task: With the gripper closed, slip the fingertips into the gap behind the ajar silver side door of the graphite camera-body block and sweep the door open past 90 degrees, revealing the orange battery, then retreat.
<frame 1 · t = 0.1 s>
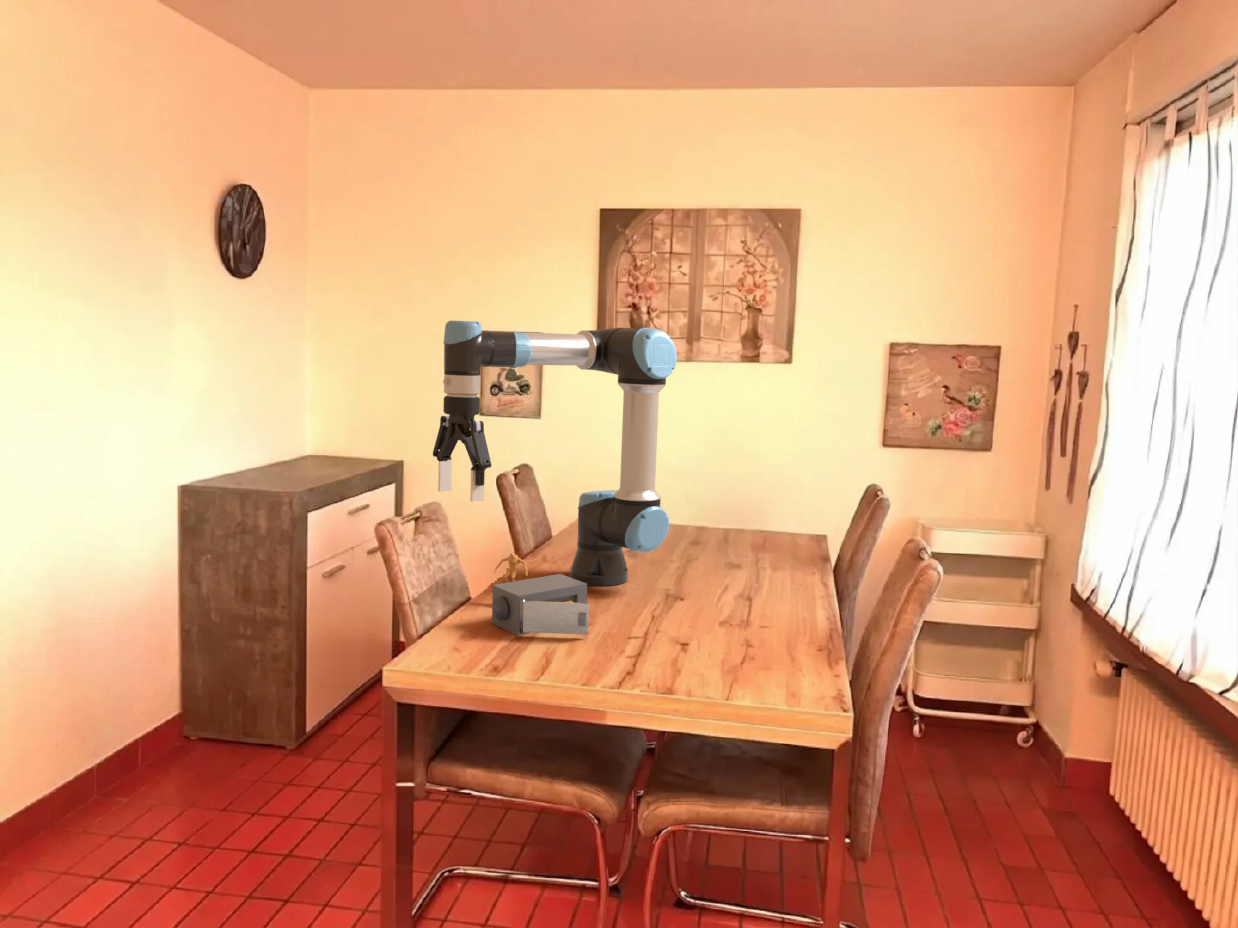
hand: (460, 496, 197), 28 cm above the table, fingers open, 13 cm apart
figurine: (509, 605, 217), on the table
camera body: (539, 622, 204), on the table
door: (553, 618, 193), point 4 cm above the table, hinge at 40.0°
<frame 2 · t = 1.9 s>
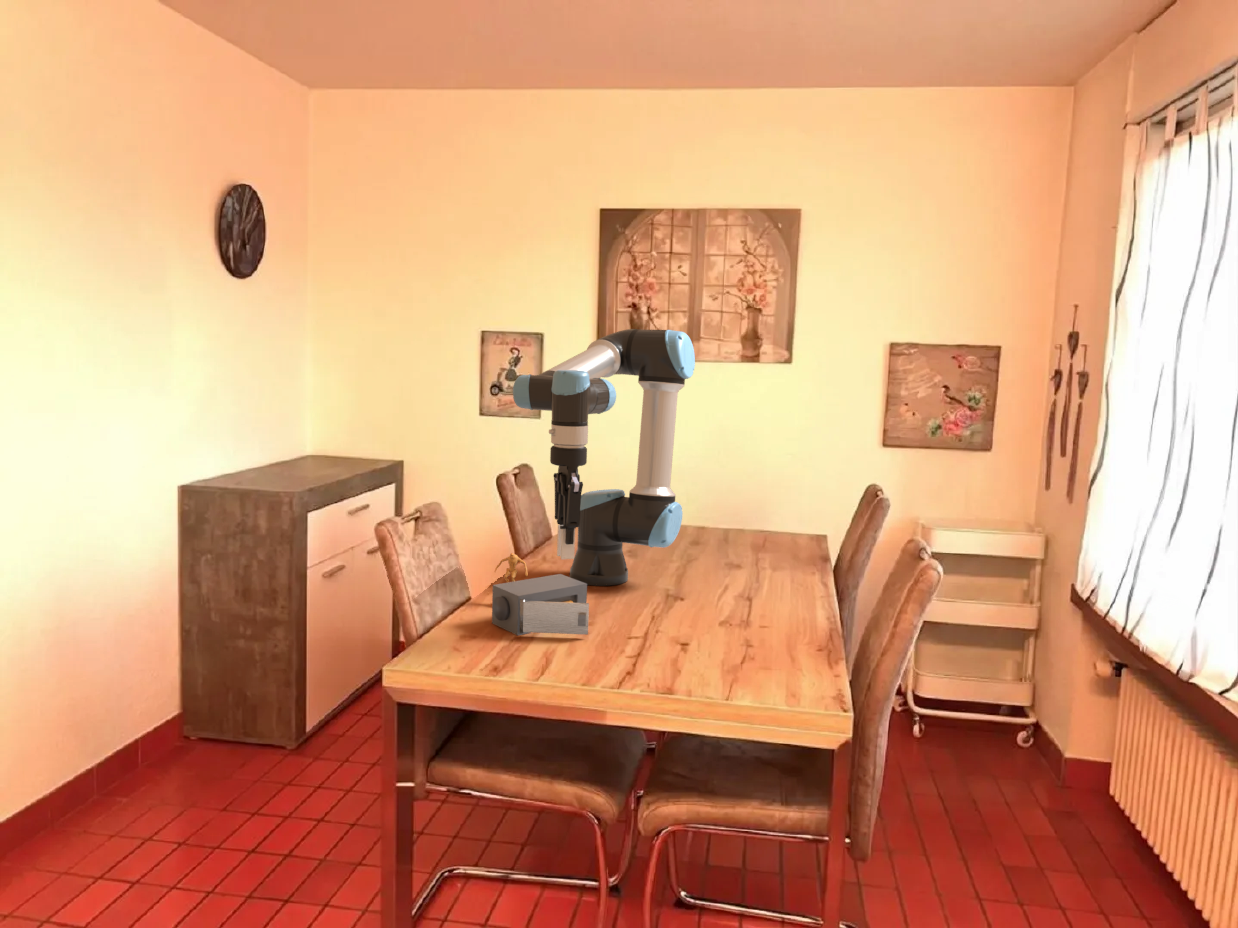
hand: (565, 556, 195), 16 cm above the table, fingers open, 2 cm apart
nothing on the table moved.
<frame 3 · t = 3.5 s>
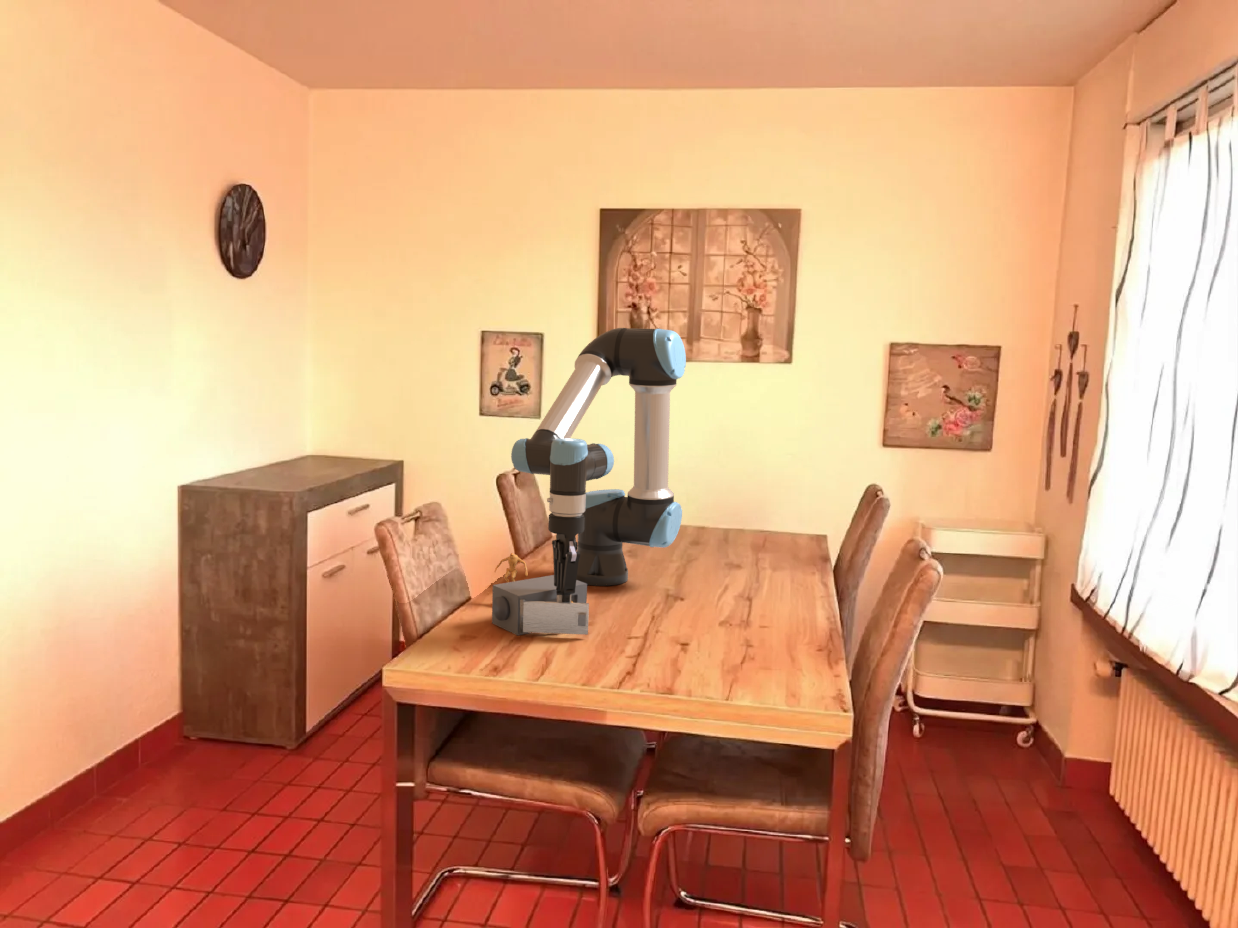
hand: (563, 623, 197), 2 cm above the table, fingers closed
door: (553, 618, 193), point 4 cm above the table, hinge at 40.0°, touching gripper
everything else where it was.
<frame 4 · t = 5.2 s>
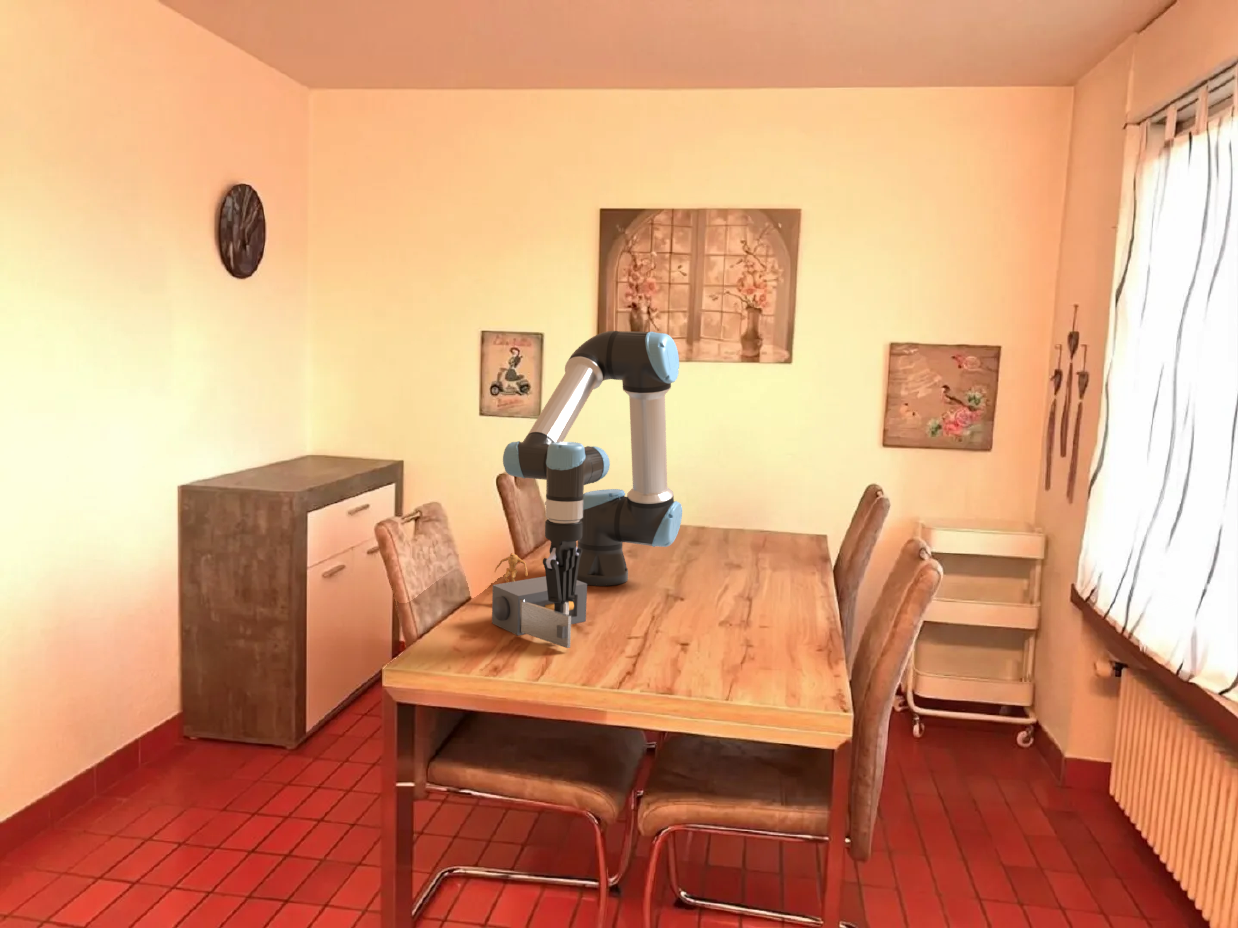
hand: (560, 632, 190), 2 cm above the table, fingers closed
door: (542, 624, 189), point 4 cm above the table, hinge at 81.2°, touching gripper
everything else where it was.
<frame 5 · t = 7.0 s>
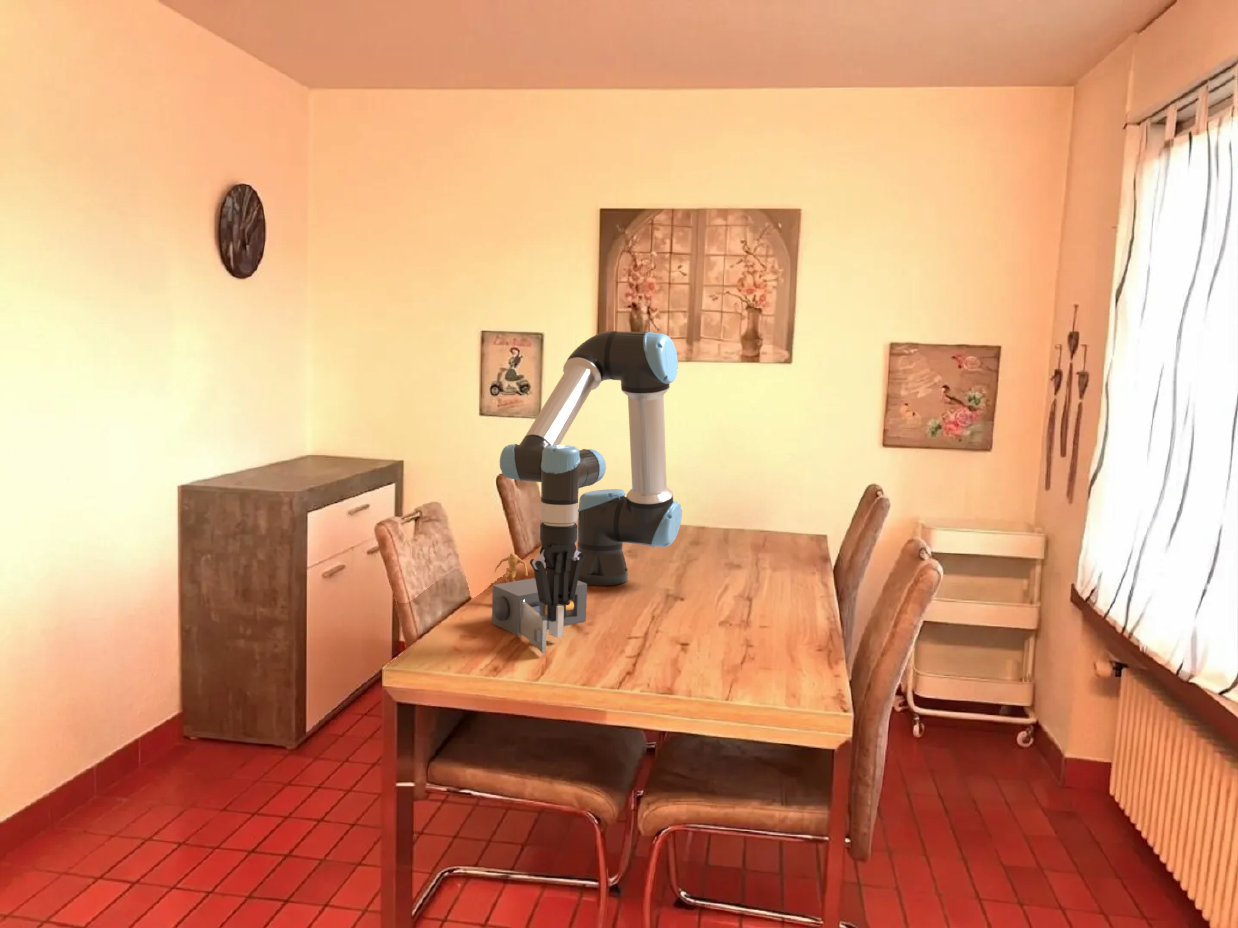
hand: (556, 635, 191), 1 cm above the table, fingers closed
door: (530, 625, 187), point 4 cm above the table, hinge at 105.3°
everything else where it was.
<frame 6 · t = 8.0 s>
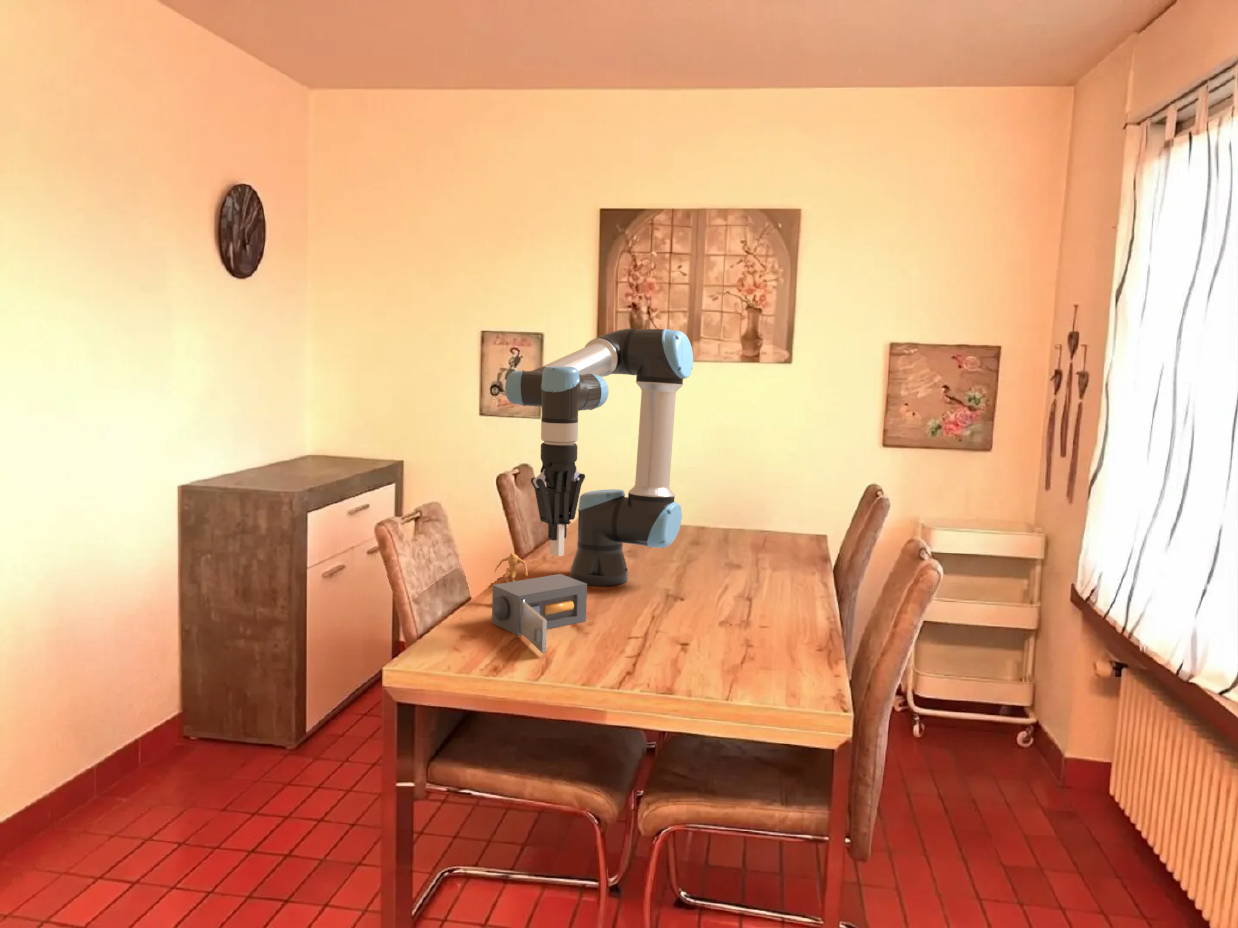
hand: (557, 554, 194), 17 cm above the table, fingers closed
nothing on the table moved.
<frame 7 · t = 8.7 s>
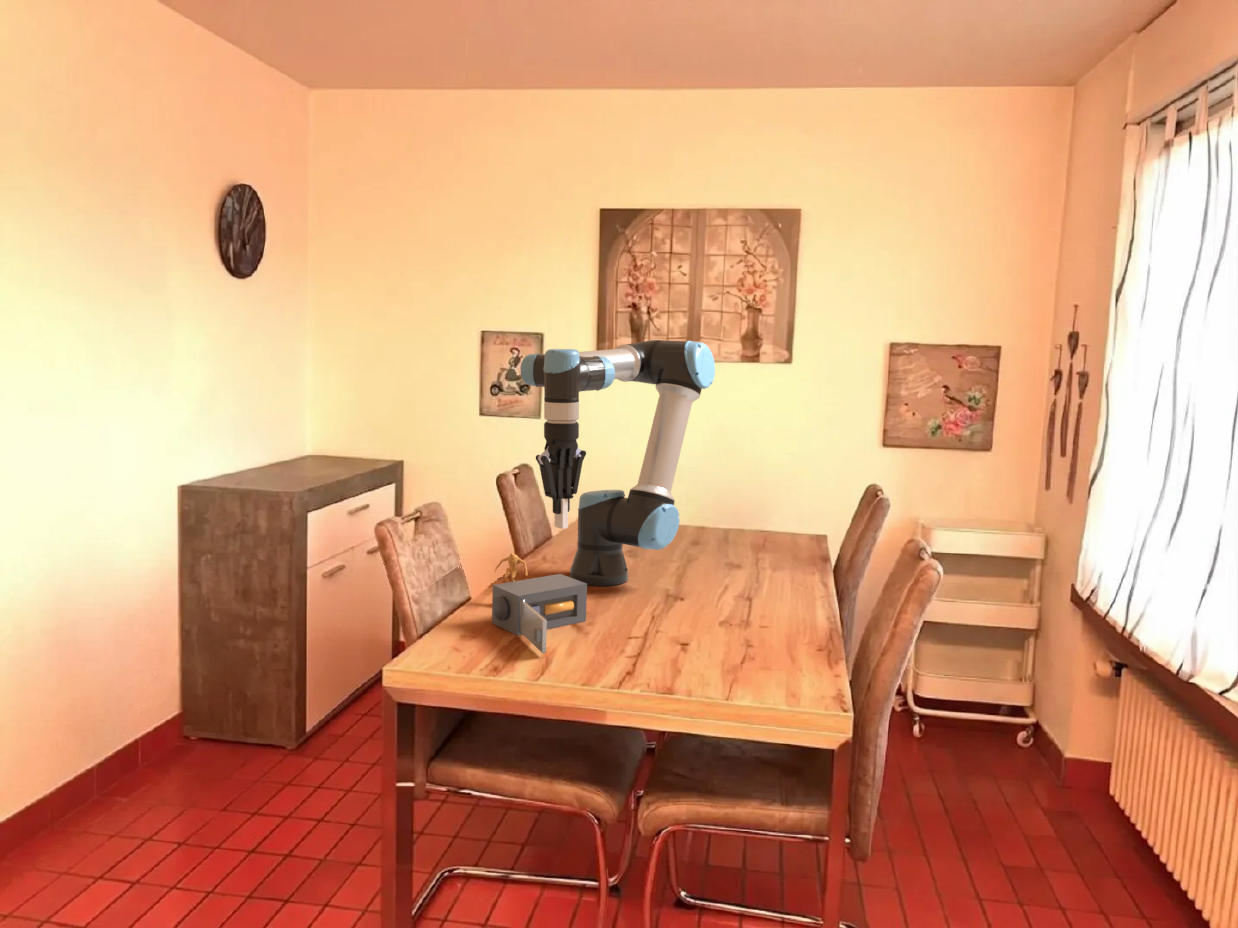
hand: (561, 527, 205), 20 cm above the table, fingers closed
nothing on the table moved.
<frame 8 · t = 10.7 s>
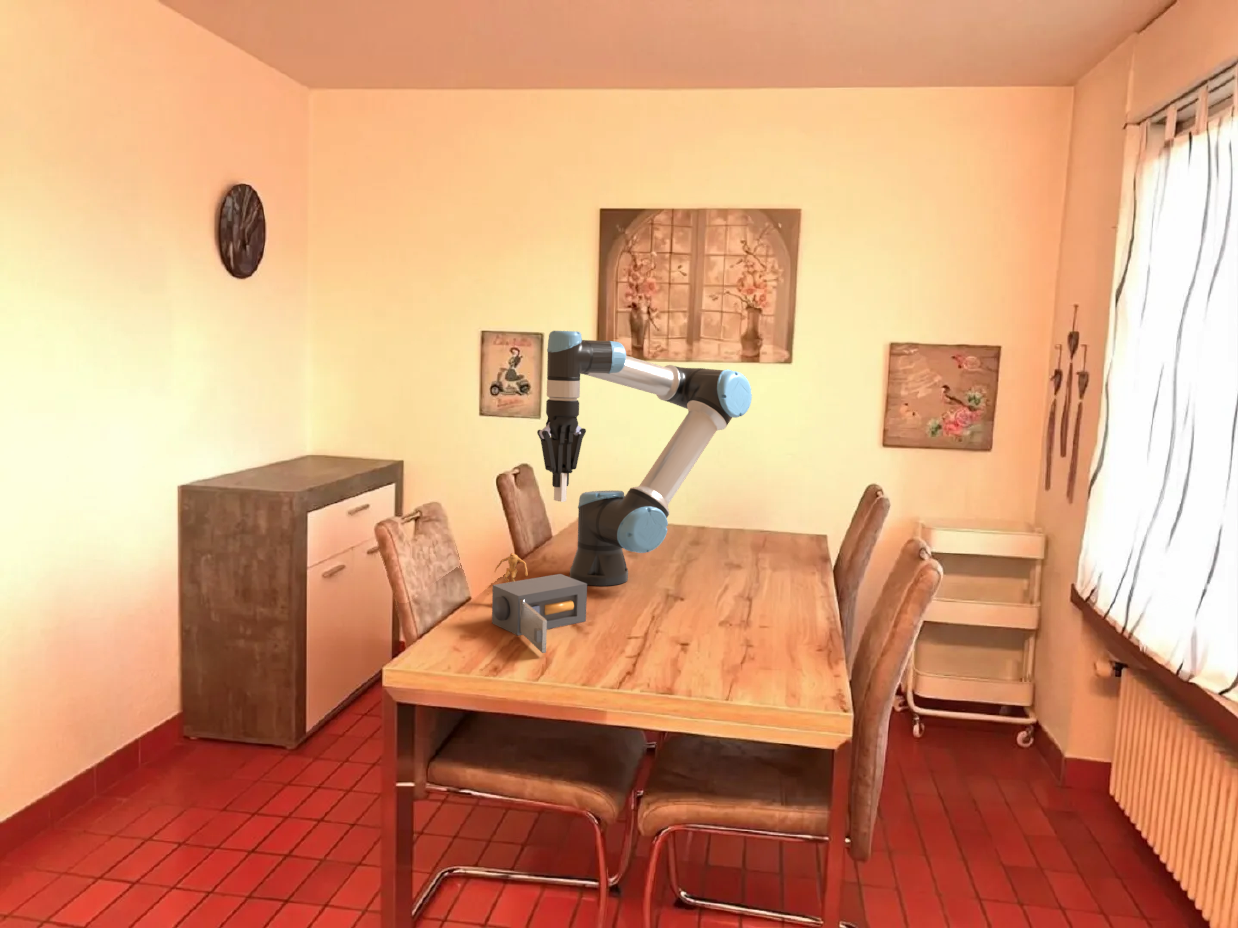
hand: (560, 500, 216), 24 cm above the table, fingers closed
nothing on the table moved.
at the end: door at +105° (first picture: +40°) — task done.
